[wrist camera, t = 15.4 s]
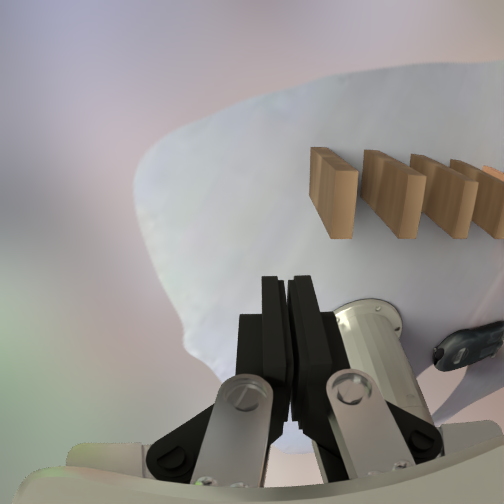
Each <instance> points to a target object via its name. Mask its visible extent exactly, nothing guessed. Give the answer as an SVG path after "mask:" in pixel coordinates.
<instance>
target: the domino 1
mask: <svg viewBox="0 0 504 504" xmlns="http://www.w3.org/2000/svg"><path fill="white" fill-rule="evenodd" d="M358 172H359V171H357V170H356V169H355V168H353V167H352V166H351V165H349V164H348V163H347V162H346V161H344V160H343V159H342V158H340V157H339V156H338V155H336V154H335V153H334V152H332V151H331V150H329V149H328V148H324V147H311V156H310V190H309V196H310V198H311V200H312V202H313V204H314V206H315V208H316V210H317V212H318V214H319V216H320V218H321V220H322V222H323V224H324V226H325V228H326V230H327V232H328V234H329V236H330V238H331V239H352V233H353V225H354V216H355V206H356V196H357V185H358Z"/></svg>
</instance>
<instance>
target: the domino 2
mask: <svg viewBox="0 0 504 504" xmlns="http://www.w3.org/2000/svg"><path fill="white" fill-rule="evenodd" d="M426 177H427V176H425V175H423V174H421V173H420V172H418V171H416V170H414V169H412V168H411V167H409V166H407V165H405V164H403V163H401V162H400V161H398V160H396V159H394V158H392V157H390V156H388V155H386V154H384V153H382V152H380V151H376V150H364V160H363V173H362V185H361V196H360V197H361V198H362V199H363V200H364V201H365V202H366V203H367V204H368V205H369V206H370V207H371V208H372V209H373V210H374V211H375V213H376V214H377V215H378V216H379V217H380V218H381V219H382V220H383V221H384V223H385V224H386V225H387V226H388V227H389V228H390V229H391V230H392V232H393V233H394V234H395V235H396V236H397V237H398V239H416V236H417V231H418V226H419V221H420V215H421V210H422V204H423V198H424V191H425V185H426Z"/></svg>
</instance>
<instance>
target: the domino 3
mask: <svg viewBox="0 0 504 504" xmlns="http://www.w3.org/2000/svg"><path fill="white" fill-rule="evenodd" d="M410 167H411V168H412V169H414V170H416V171H418V172H420V173H421V174H423V175H425V176H427V177H426V185H425V191H424V198H423V204H422V210H421V211H422V212H423V213H425V214H426V215H427V216H428V217H429V218H430V219H432V220H433V221H434V222H435V223H436V224H437V225H439V226H440V227H441V228H442V229H443V230H444V231H445V232H447V233H448V234H449V235H450V236H451V237H452V238H453V239H467V235H468V231H469V227H470V223H471V219H472V214H473V210H474V205H475V200H476V195H477V190H478V184H479V183H478V182H477V181H475V180H473V179H471V178H469V177H467V176H465V175H463V174H461V173H459V172H457V171H455V170H453V169H451V168H449V167H447V166H445V165H443V164H441V163H439V162H437V161H435V160H432V159H430V158H428V157H426V156H424V155H416V154H411V160H410Z"/></svg>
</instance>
